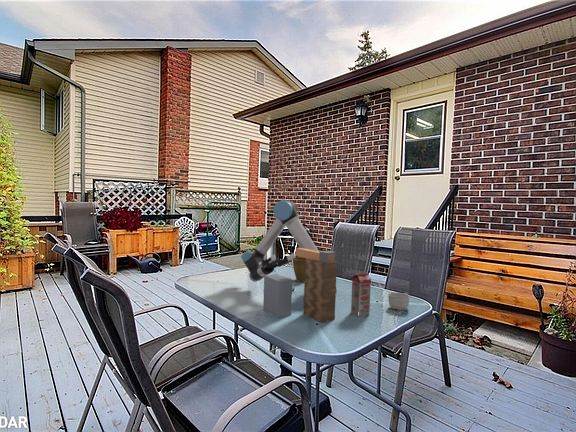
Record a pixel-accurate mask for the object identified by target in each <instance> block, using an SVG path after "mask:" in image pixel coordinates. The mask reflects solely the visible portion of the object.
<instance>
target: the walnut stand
mask: <svg viewBox="0 0 576 432" xmlns="http://www.w3.org/2000/svg"><path fill="white" fill-rule="evenodd" d="M337 264H338V263H337V261H335V263H327V264H326V263H322V262H319V261H316V260H311V259H305V282H304V286H303V287H304V288H303V312H302V314H303V315H304V316H306V317H309V318H311V319H314V320H316V321H318V322H320V323H323V324H324V323H326V322H330V321H333V320H334V321H335V318H336V298H337V297H336V296H337V295H336V294H337V292H336V289H337V269H338V267H337V266H338V265H337Z"/></svg>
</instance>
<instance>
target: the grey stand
mask: <svg viewBox="0 0 576 432" xmlns="http://www.w3.org/2000/svg"><path fill="white" fill-rule="evenodd" d="M292 295H293V278H290V277H287V276H284V275H281V274H268V275H267V276H264V278H263V305H262V307H263V309H262V310H263V312H265V313H268V314H270V315H271V316H274V317H275V318H277V319H280V318H283V317H288V316H291V315H292V302H293V301H292V299H293V296H292Z"/></svg>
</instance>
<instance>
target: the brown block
mask: <svg viewBox="0 0 576 432" xmlns="http://www.w3.org/2000/svg"><path fill="white" fill-rule="evenodd" d="M336 256H337V252H336V251H332V250H321V251H319V250H318V251H315V250H310V249H305V248H300V247H297V248H295V257H303V258H307V259H311V260H316V261H319V262H322V263H326V264H327V263H335V262H337V261H336V258H337V257H336Z"/></svg>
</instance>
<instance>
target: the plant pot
mask: <svg viewBox="0 0 576 432" xmlns="http://www.w3.org/2000/svg"><path fill="white" fill-rule="evenodd" d="M305 259H307V258H303V257H298V256H295V258H293V259H292V267H293V271H294V276H295V278H296V281H297V282H304V283H305Z"/></svg>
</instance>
